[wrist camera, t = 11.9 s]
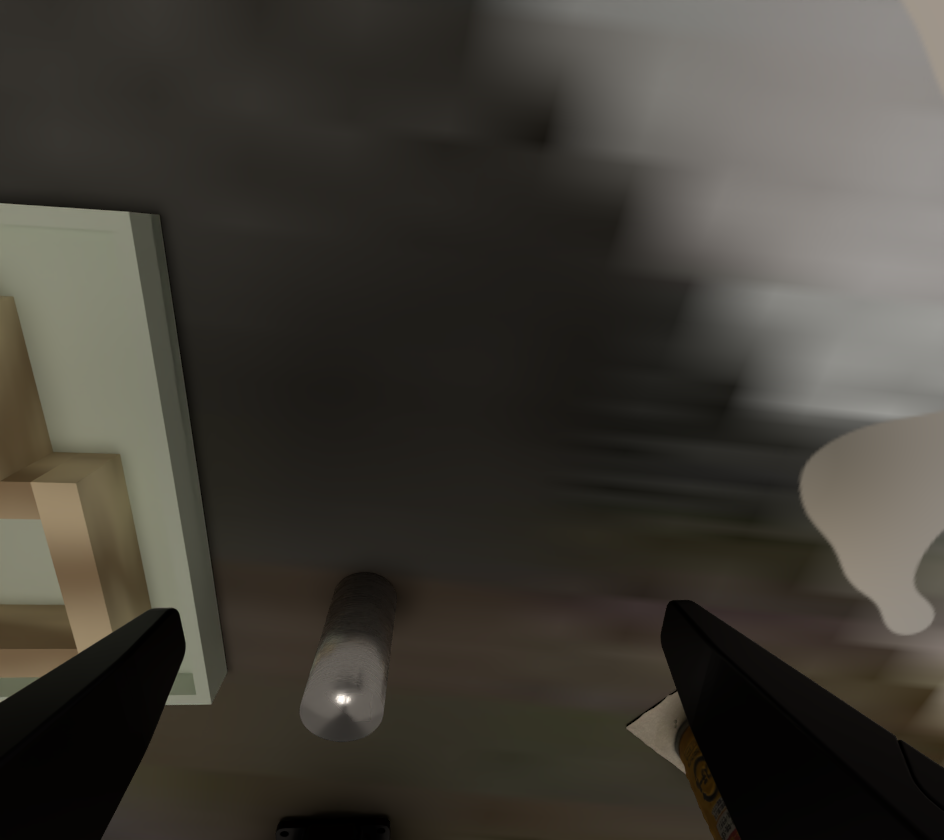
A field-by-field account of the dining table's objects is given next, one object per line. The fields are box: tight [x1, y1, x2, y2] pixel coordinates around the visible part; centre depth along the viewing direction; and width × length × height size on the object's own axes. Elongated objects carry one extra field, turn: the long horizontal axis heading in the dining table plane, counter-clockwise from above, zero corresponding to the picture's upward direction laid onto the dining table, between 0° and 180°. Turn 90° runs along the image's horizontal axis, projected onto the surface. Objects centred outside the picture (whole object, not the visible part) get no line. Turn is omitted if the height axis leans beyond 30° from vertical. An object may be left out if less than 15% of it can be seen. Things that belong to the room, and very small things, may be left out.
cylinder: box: [300, 573, 397, 742], centre depth 20 cm, size 3×3×6 cm
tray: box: [0, 203, 227, 705], centre depth 19 cm, size 21×14×2 cm
